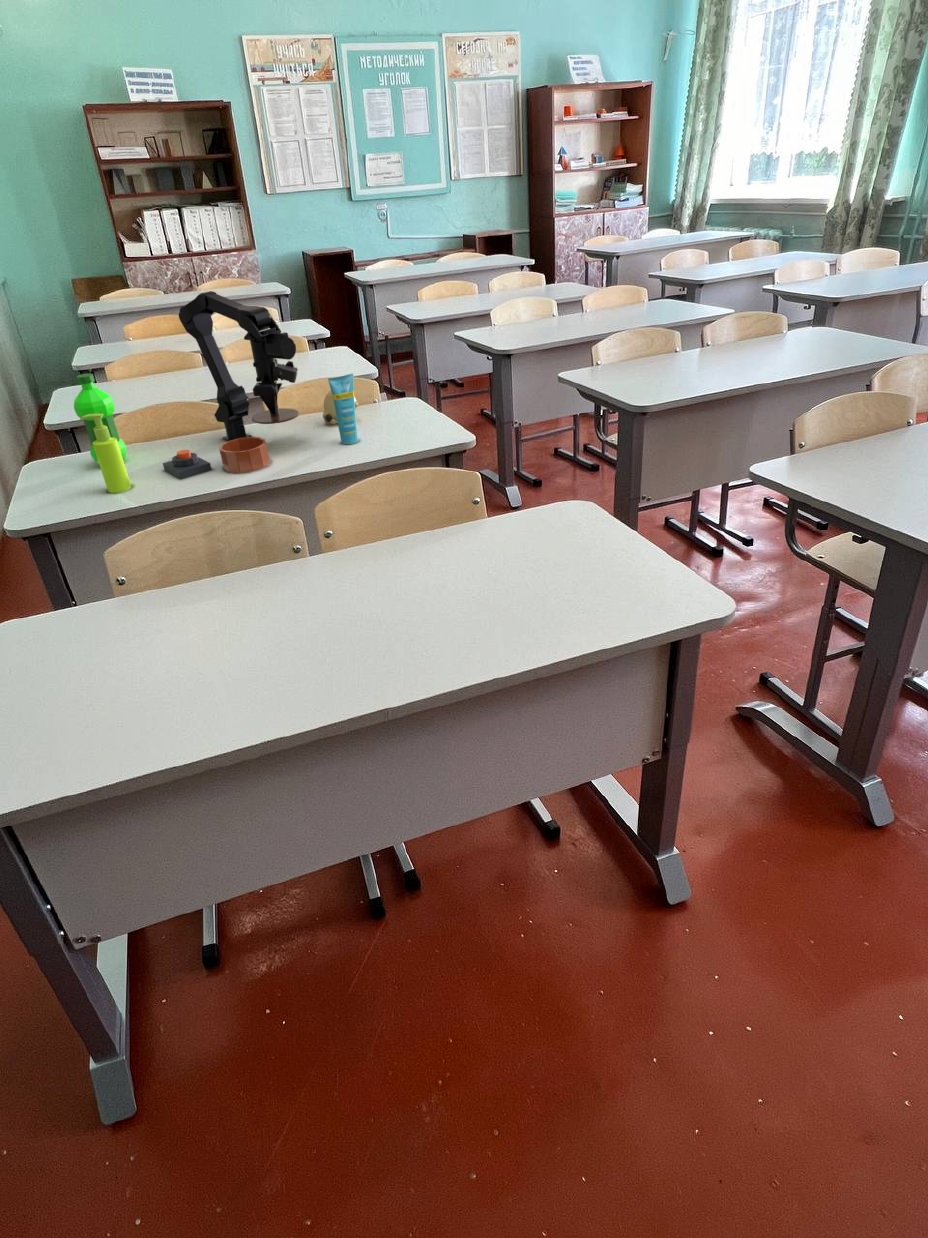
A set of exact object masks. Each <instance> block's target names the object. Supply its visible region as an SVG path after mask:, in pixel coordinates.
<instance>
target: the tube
mask: <svg viewBox="0 0 928 1238" xmlns="http://www.w3.org/2000/svg"><path fill="white" fill-rule="evenodd" d="M327 381H328V384H329V388H330V390H331V392H332V397H333V401H334V406H335V411H336V416H337V421H338V423H337V426H338V432H339V437H340V443H341V444H343V445H353V444H356V443H357V442H358V441H359V438H358V437H359V436H358V428H357V427H358V426H357V417H356V416H357V415H356V411H355V401H354V397H355V386H354V385H355V384H354V373H348V374H344V375H339V376H334V377H328V378H327Z"/></svg>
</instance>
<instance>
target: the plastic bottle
mask: <svg viewBox="0 0 928 1238" xmlns="http://www.w3.org/2000/svg"><path fill="white" fill-rule="evenodd" d="M76 380H77V384H78V385H80V386H81V389H80V391H79V392H78V394H77V395H76V396H75V398H74V401H73V409H74V412H75V414H76V416H77V417H78V418H79V419H80V418H81V417H82V416H85V415H88V414H103V415H104V416H103V417H102V418H101V420H102V423H103V425H105V426H107V427H108V430H109V433H110V437H113V438H116V439H117V442H118V445H119V448H120V451H121V455H122V458H123V460H124V459H125V458H126V455H127V446H126V443H125V442H124V441H123V439H122V438H120V436H119V432H118V429H117V425H116V422H115V419H114V415H113V414H114V412H115V403H114V399H113V398H112V397H111V394H109V393H107V392H106V391H104V390H102V389H100V388H98V387H96V386H95V384H94V382H95V381H96V380H95V377H94V374H93V373H81V374H79V375H76ZM82 422H83V423H84V426H85V430H86V432H87V435H88V439H89V442H90V450H89V451H90V452H89V453H90V456H91V457H92V459H93V460H94V461H95V462H97V463H98V464H99V462H98V459H97V456H96V453H95V450H94V447H93V444H92V443H93V442H94V441H96V440H97V439H96V436H95V433H94V430H93V429H94V428H95V427H96V424H95V421H94V418H88V419H83V420H82Z"/></svg>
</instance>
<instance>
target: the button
mask: <svg viewBox="0 0 928 1238" xmlns="http://www.w3.org/2000/svg"><path fill="white" fill-rule="evenodd" d="M191 453H192V452H191V450H190V449H181V450H178V451H176V455H177V457H178V459H187V458H190V457H191Z"/></svg>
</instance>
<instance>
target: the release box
mask: <svg viewBox="0 0 928 1238" xmlns="http://www.w3.org/2000/svg"><path fill="white" fill-rule="evenodd" d="M190 453H191V457H190V458H187V459H178V457H177V454H176V455H174V456H172V458H171V460H169V461H164V462H162V466H163V469H164V472H167V473H169V474H170V475H172V476H174V477H175V478H177V479H179V480H184V479H187V478H190V477H193V476H198V475H201V474H204V473H207V472H210V471H212V470H213V469H212V464H211V463H210V462H209V461H207V460H205V459H203V458H202V457H199V456H198V454H197V453H195V452H190Z"/></svg>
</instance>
